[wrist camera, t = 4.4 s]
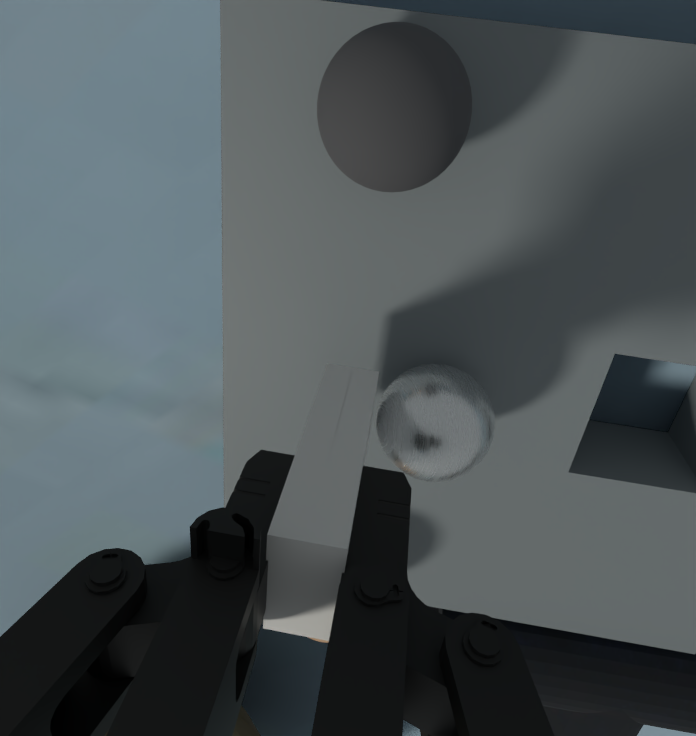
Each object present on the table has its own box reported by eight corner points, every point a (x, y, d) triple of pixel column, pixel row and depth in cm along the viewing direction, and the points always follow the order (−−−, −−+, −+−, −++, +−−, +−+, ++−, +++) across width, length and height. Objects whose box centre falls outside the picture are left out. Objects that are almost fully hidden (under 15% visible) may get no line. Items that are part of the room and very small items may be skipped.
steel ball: (389, 513, 15) (500, 500, 16) (408, 410, 13) (531, 402, 14) (356, 437, 18) (453, 430, 19) (369, 345, 16) (474, 341, 17)
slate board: (248, 509, 26) (224, 569, 23) (259, 1, 16) (220, -12, 13) (662, 581, 25) (695, 654, 22) (950, 83, 15) (1082, 89, 12)
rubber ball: (324, 168, 15) (297, 196, 12) (336, 17, 13) (309, 6, 10) (452, 185, 15) (457, 218, 12) (481, 34, 13) (496, 28, 10)
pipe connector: (722, 853, 26) (401, 791, 27) (677, 734, 31) (405, 685, 32) (853, 710, 20) (444, 638, 21) (774, 592, 25) (441, 537, 26)
